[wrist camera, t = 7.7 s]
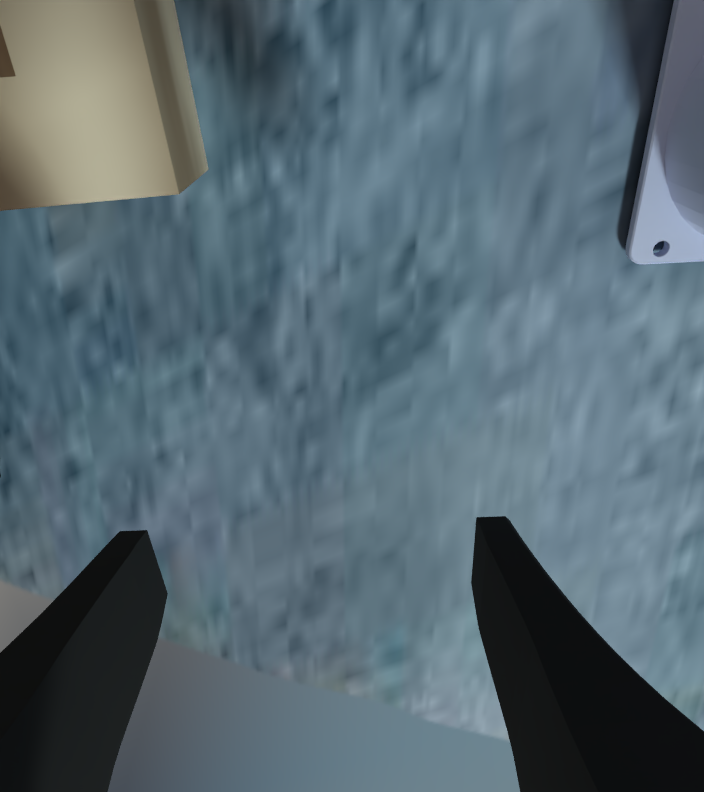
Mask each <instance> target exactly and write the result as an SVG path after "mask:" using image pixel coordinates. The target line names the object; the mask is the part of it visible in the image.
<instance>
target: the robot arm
mask: <svg viewBox="0 0 704 792" xmlns="http://www.w3.org/2000/svg"><path fill="white" fill-rule="evenodd" d="M660 241H664V246H663V248H662V249H661V250H660V251H659V252H657V253H653V248H654V246H655V245H656V244H657V243H658V242H660ZM626 255H627V257H628V258H629V259H630V260H632V261H633V262H635V263H636V264H659V263H678V262H698V261H704V0H674V2H673V7H672V12H671V17H670V23H669V28H668V33H667V38H666V43H665V48H664V53H663V58H662V64H661V69H660V74H659V79H658V84H657V89H656V94H655V99H654V104H653V110H652V115H651V120H650V125H649V130H648V135H647V140H646V145H645V150H644V156H643V161H642V166H641V171H640V176H639V181H638V186H637V191H636V197H635V202H634V207H633V212H632V217H631V222H630V227H629V232H628V237H627V243H626ZM471 584H472V590H473V596H474V602H475V609H476V615H477V620H478V626H479V631H480V634H481V638H482V642H483V645H484V649H485V653H486V656H487V660H488V663H489V667H490V671H491V674H492V678H493V681H494V685H495V688H496V692H497V695H498V699H499V702H500V706H501V710H502V713H503V717H504V720H505V724H506V727H507V731H508V735H509V739H510V743H511V747H512V751H513V756H514V761H515V766H516V771H517V776H518V782H519V787H520V792H704V731H703V730H702V729H700V728H699V727H698V726H697V725H696V724H694V723H693V722H692V721H691V720H690V719H688V718H687V717H686V716H685V715H684V714H682V713H681V712H680V711H679V710H678V709H676V708H675V707H674V706H673V705H672V704H671V703H669V702H668V701H667V700H666V699H665V698H664V697H662V696H661V695H660V694H659V693H658V692H657V691H656V690H655V689H654V688H653V687H652V686H651V685H649V684H648V683H647V682H646V681H645V680H644V679H643V678H642V677H641V676H640V675H639V674H638V673H637V672H636V671H634V670H633V669H632V668H631V667H630V666H629V665H628V664H627V663H626V662H625V661H624V660H623V659H622V658H621V657H620V656H619V655H618V654H617V653H616V652H615V651H614V650H613V649H612V648H611V647H610V646H609V645H608V643H607V642H606V641H605V640H604V639H603V638H602V637H601V636H600V635H599V634H598V633H597V632H596V631H595V630H594V628H593V627H592V626H591V625H590V624H589V623H588V622H587V621H586V620H585V618H584V617H583V616H582V615H581V614H580V613H579V612H578V610H577V609H576V608H575V607H574V606H573V605H572V603H571V602H570V601H569V600H568V599H567V597H566V596H565V595H564V594H563V592H562V591H561V590H560V589H559V588H558V586H557V585H556V584H555V583H554V581H553V580H552V579H551V578H550V576H549V575H548V574H547V572H546V571H545V570H544V569H543V567H542V566H541V565H540V563H539V562H538V561H537V559H536V558H535V557H534V555H533V554H532V552H531V551H530V550H529V548H528V547H527V545H526V544H525V543H524V541H523V540H522V538H521V537H520V535H519V534H518V532H517V531H516V529H515V528H514V526H513V525H512V523H511V522H510V520H509V519H507V518H506V517H505V516H502V517H477V518H476V531H475V543H474V556H473V569H472V581H471ZM167 594H168V593H167V590H166V587H165V584H164V581H163V578H162V575H161V572H160V569H159V566H158V563H157V560H156V556H155V553H154V550H153V547H152V544H151V541H150V538H149V535H148V532H147V530H141V531H120V532H119V533H118V534H117V535H116V536H115V537H114V538H113V539H112V540H111V541H110V542H109V543H108V544H107V545H106V546H105V547H104V548H103V549H102V550H101V552H100V553H99V554H98V555H97V556H96V557H95V558H94V559H93V560H92V561H91V562H90V563H89V564H88V565H87V567H86V568H85V569H84V570H83V571H82V572H81V573H80V574H79V575H78V576H77V577H76V578H75V579H74V580H73V581H72V582H71V584H70V585H69V586H68V587H67V588H66V589H65V590H64V591H63V592H62V593H61V594H60V595H59V596H58V597H57V598H56V599H55V600H54V601H53V602H52V603H51V604H50V605H49V606H48V607H47V608H46V610H44V611H43V613H41V614H40V615H39V616H38V617H37V618H36V619H35V620H34V621H33V622H32V623H31V624H30V625H29V626H28V627H27V628H26V629H25V630H24V631H23V632H22V633H21V634H20V635H19V636H18V637H16V638H15V639H14V641H12V642H11V643H10V644H9V645H8V646H7V647H6V648H5V649H4V650H3V651H2V652H1V653H0V792H107V791H108V787H109V784H110V780H111V776H112V772H113V768H114V765H115V761H116V758H117V755H118V752H119V748H120V745H121V742H122V739H123V737H124V734H125V731H126V728H127V725H128V723H129V719H130V717H131V714H132V711H133V709H134V705H135V703H136V700H137V697H138V694H139V692H140V689H141V686H142V683H143V680H144V677H145V675H146V672H147V669H148V666H149V663H150V660H151V657H152V655H153V652H154V649H155V646H156V643H157V640H158V636H159V631H160V627H161V623H162V618H163V614H164V609H165V604H166V599H167Z"/></svg>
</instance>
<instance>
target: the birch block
mask: <svg viewBox="0 0 704 792" xmlns="http://www.w3.org/2000/svg"><path fill="white" fill-rule="evenodd" d="M0 26H1V29H2V33H3V36H4V39H5V42H6V46H7V49H8V52H9V55H10V59H11V62H12V65H13V68H14V72H15V75H16V76H14V77H1V78H0V211H2V210H13V209H24V208H35V207H46V206H56V205H67V204H78V203H89V202H100V201H111V200H121V199H132V198H143V197H154V196H165V195H176V194H180V193H181V192H182V191H184V190H185V189H186V188H187V187H188V186H189V185H191V184H192V183H193V182H194V181H195V180H197V179H198V178H199V177H200V176H201V175H203V174H204V173H205V172H206V171H207V170H208V164H207V160H206V155H205V150H204V145H203V140H202V135H201V130H200V125H199V121H198V116H197V111H196V106H195V101H194V96H193V91H192V86H191V82H190V77H189V72H188V67H187V62H186V57H185V52H184V47H183V42H182V38H181V33H180V28H179V23H178V18H177V13H176V8H175V3H174V0H0Z"/></svg>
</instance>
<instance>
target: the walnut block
mask: <svg viewBox="0 0 704 792" xmlns="http://www.w3.org/2000/svg"><path fill="white" fill-rule="evenodd" d="M14 76H16V75H15V72H14V68H13V65H12V62H11V59H10V55H9V52H8V49H7V46H6V42H5V39H4V36H3V33H2V29H1V26H0V78H1V77H14Z"/></svg>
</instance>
